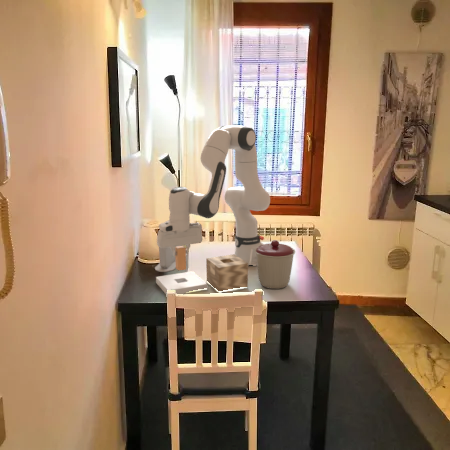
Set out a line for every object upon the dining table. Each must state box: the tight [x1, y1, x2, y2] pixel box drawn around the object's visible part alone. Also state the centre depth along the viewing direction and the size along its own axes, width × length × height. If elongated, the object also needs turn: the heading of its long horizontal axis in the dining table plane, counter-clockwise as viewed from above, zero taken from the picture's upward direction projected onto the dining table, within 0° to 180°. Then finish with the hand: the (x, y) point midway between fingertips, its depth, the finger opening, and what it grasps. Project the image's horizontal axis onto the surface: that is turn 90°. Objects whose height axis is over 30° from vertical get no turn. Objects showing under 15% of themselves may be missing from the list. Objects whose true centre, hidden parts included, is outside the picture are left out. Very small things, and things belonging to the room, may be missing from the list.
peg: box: [175, 245, 187, 271], centre depth 205 cm, size 4×4×10 cm
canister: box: [255, 239, 296, 290], centre depth 208 cm, size 18×18×21 cm
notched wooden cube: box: [205, 253, 249, 291], centre depth 208 cm, size 14×14×12 cm
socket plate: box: [155, 270, 208, 295], centre depth 208 cm, size 18×18×3 cm
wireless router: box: [154, 245, 188, 273], centre depth 240 cm, size 31×10×20 cm, turn 168°
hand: (180, 254), depth 205 cm, fingers closed on peg, 4 cm apart
